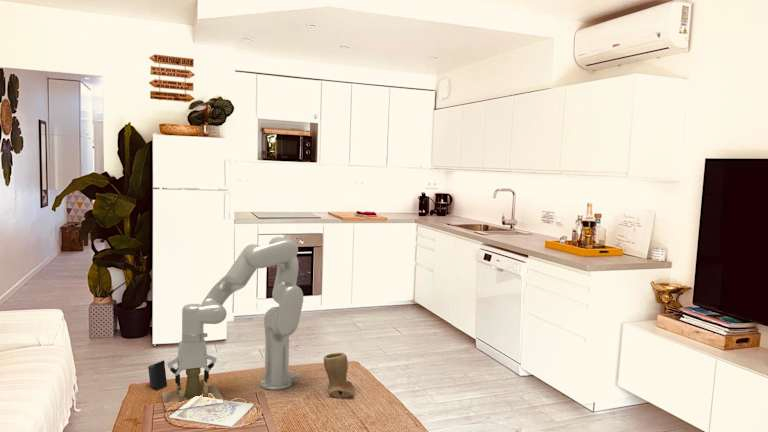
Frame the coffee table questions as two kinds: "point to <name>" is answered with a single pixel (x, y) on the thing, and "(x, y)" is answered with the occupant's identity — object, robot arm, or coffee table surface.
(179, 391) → the pin holder
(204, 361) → the robot arm
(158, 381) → the speaker
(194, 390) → the cork
